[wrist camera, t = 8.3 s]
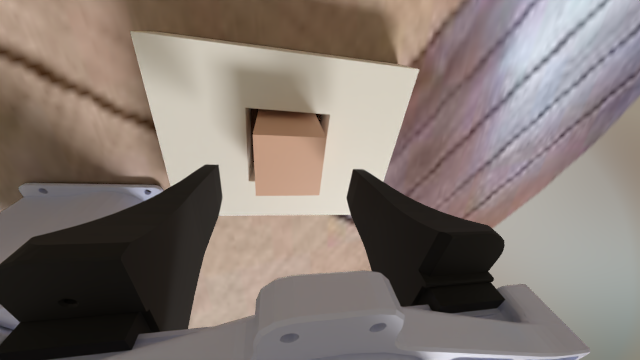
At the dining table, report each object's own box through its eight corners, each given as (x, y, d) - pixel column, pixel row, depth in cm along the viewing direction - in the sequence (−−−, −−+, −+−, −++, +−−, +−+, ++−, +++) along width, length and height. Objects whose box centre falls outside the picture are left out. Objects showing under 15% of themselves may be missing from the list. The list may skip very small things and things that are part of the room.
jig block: (190, 193, 20) (178, 216, 18) (156, 31, 14) (130, 31, 11) (362, 194, 23) (372, 214, 21) (398, 64, 17) (419, 69, 14)
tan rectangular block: (261, 153, 19) (255, 195, 14) (259, 104, 17) (252, 134, 12) (308, 154, 20) (319, 195, 15) (312, 108, 18) (326, 137, 13)
